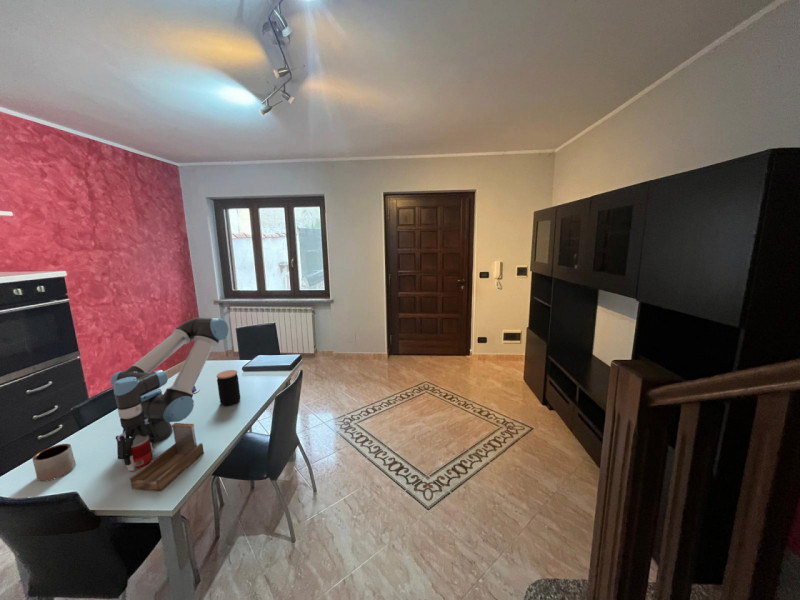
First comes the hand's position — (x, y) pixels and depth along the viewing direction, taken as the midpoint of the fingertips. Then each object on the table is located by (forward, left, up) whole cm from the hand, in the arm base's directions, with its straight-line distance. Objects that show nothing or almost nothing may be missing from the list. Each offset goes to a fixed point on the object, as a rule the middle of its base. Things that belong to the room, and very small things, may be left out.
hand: (141, 462), depth 133 cm
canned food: (0, 0, -1) cm, 1 cm away
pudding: (-32, +63, -1) cm, 70 cm away
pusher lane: (+16, -2, 0) cm, 16 cm away
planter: (-31, -8, -1) cm, 32 cm away
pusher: (+16, +7, +1) cm, 17 cm away
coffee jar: (+4, +53, -1) cm, 53 cm away
